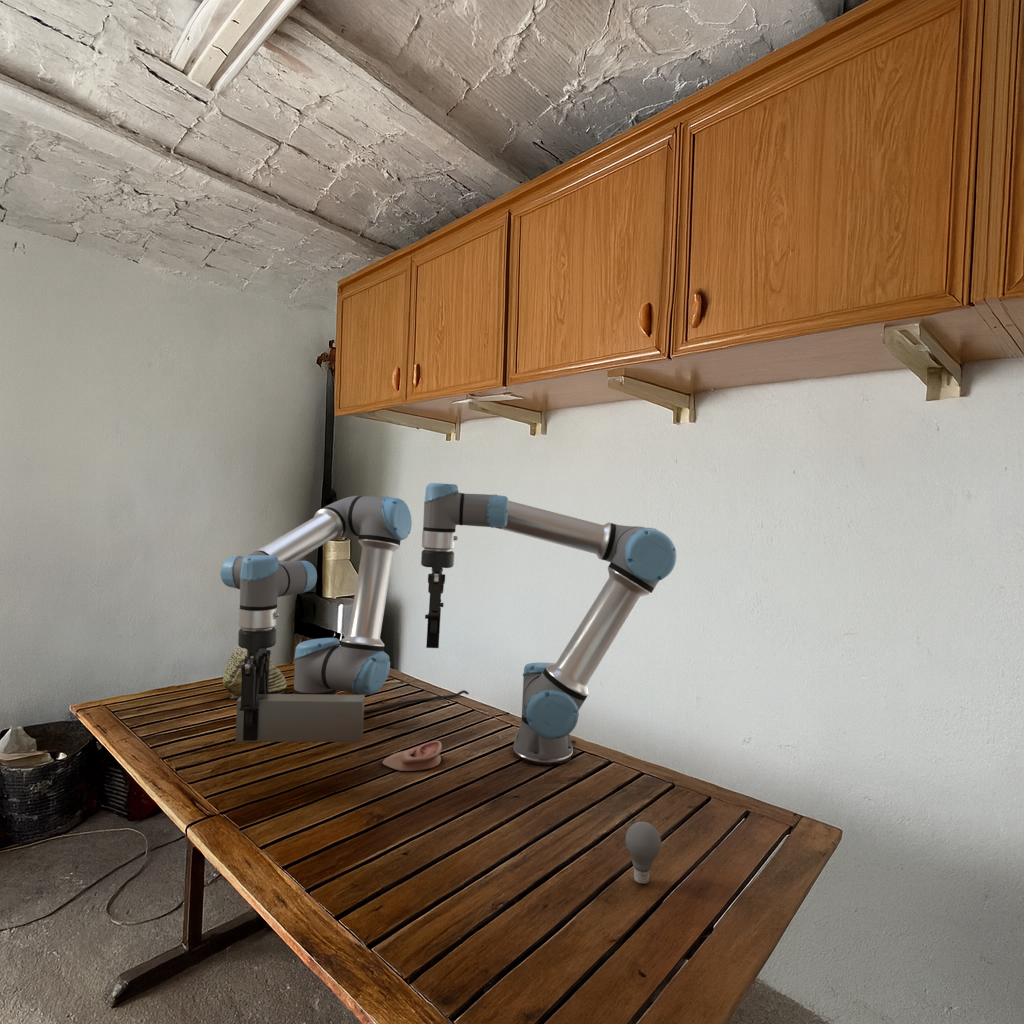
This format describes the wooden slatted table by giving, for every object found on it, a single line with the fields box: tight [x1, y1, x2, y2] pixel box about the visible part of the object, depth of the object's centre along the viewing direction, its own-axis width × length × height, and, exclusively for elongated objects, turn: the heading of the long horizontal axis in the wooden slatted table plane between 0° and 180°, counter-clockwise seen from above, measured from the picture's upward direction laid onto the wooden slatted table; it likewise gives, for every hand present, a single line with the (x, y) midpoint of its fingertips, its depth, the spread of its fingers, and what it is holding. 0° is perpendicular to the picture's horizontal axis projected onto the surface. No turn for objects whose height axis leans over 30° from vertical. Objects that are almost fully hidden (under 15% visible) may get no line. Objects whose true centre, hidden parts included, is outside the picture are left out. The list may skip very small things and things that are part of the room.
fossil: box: [222, 646, 288, 699], centre depth 198 cm, size 9×18×15 cm, turn 132°
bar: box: [235, 693, 366, 743], centre depth 137 cm, size 26×5×9 cm, turn 96°
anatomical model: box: [382, 740, 443, 772], centre depth 153 cm, size 13×4×12 cm
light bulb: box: [624, 821, 662, 884], centre depth 108 cm, size 6×6×10 cm
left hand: (253, 735), depth 136 cm, fingers closed on bar, 5 cm apart
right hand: (433, 640), depth 147 cm, fingers open, 13 cm apart
